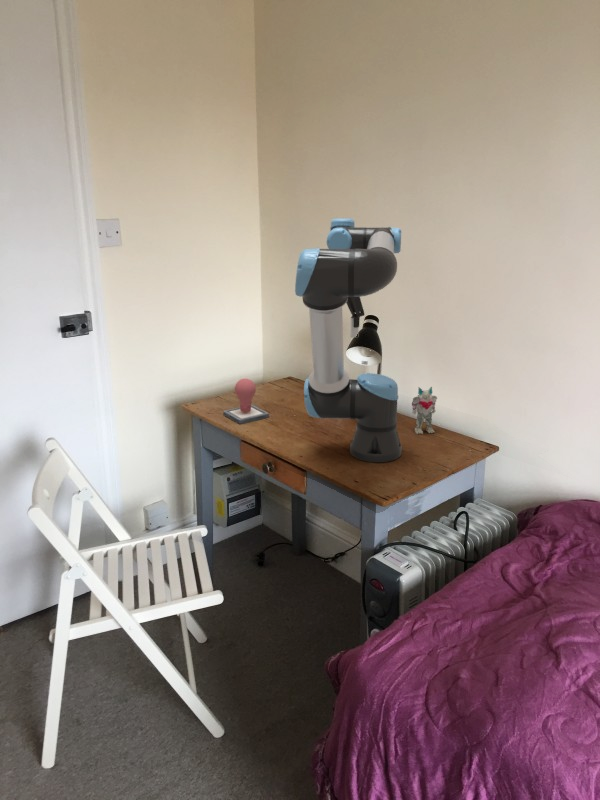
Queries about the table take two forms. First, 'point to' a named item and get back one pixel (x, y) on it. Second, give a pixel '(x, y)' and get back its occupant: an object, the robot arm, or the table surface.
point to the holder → (246, 415)
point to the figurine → (424, 409)
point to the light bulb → (245, 393)
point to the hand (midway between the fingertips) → (341, 333)
